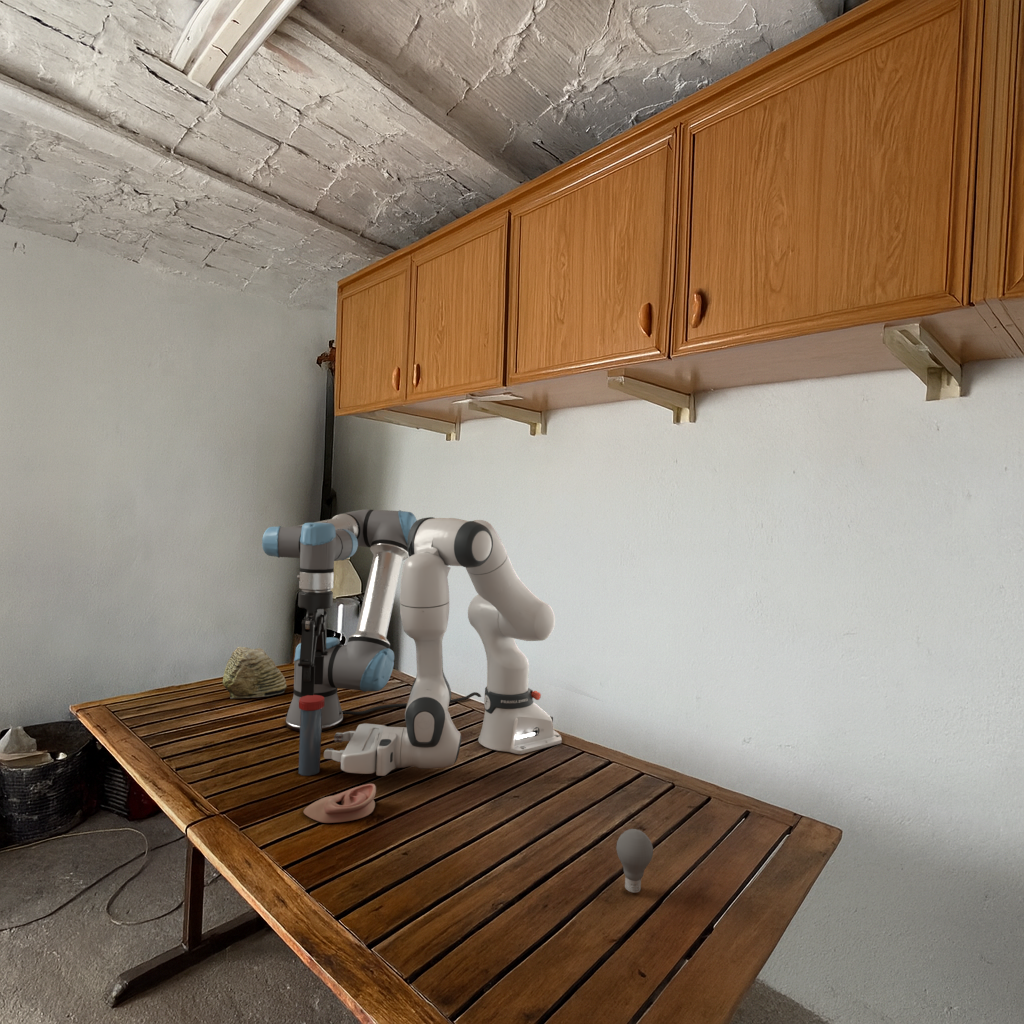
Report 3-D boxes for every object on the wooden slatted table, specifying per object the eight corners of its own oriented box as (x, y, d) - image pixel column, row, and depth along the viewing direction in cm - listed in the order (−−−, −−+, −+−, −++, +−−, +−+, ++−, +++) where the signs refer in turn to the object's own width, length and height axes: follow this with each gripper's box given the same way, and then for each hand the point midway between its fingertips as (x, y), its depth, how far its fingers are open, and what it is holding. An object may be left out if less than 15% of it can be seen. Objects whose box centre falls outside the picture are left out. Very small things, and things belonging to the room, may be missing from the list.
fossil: (218, 695, 195) (220, 647, 195) (278, 685, 208) (279, 640, 207) (228, 703, 189) (230, 653, 188) (289, 692, 201) (290, 645, 201)
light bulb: (610, 879, 108) (613, 822, 108) (644, 879, 109) (647, 822, 109) (619, 902, 102) (622, 840, 102) (655, 901, 103) (658, 840, 103)
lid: (297, 703, 147) (298, 695, 147) (322, 701, 149) (323, 693, 149) (299, 711, 142) (300, 703, 142) (325, 709, 144) (326, 701, 144)
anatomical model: (295, 798, 124) (324, 774, 135) (295, 818, 124) (324, 792, 135) (358, 808, 121) (383, 782, 132) (358, 828, 121) (382, 801, 133)
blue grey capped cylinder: (297, 768, 147) (300, 698, 147) (318, 765, 149) (321, 696, 149) (299, 776, 143) (301, 704, 142) (320, 774, 144) (323, 702, 144)
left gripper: (310, 583, 155) (307, 676, 155) (286, 596, 134) (282, 703, 135) (341, 584, 155) (338, 677, 156) (322, 597, 135) (317, 704, 135)
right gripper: (397, 717, 157) (340, 716, 156) (383, 750, 136) (318, 748, 136) (396, 743, 157) (339, 741, 156) (382, 779, 136) (317, 778, 136)
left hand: (312, 689), depth 145 cm, fingers open, 8 cm apart
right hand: (329, 745), depth 146 cm, fingers open, 8 cm apart
